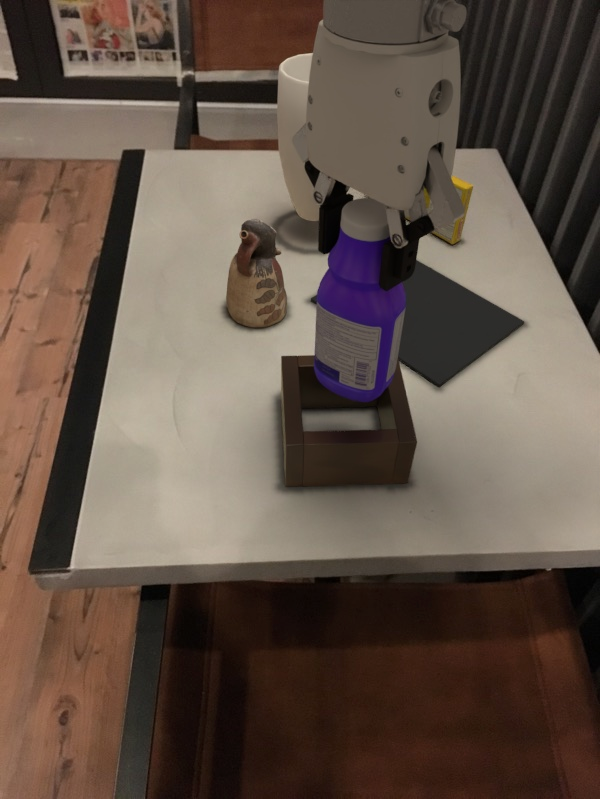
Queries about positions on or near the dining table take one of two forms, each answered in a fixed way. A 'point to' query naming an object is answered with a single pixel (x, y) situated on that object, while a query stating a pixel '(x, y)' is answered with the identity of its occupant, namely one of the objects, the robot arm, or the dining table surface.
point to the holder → (343, 433)
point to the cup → (289, 123)
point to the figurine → (256, 278)
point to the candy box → (455, 229)
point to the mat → (447, 325)
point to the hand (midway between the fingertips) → (364, 262)
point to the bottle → (358, 308)
